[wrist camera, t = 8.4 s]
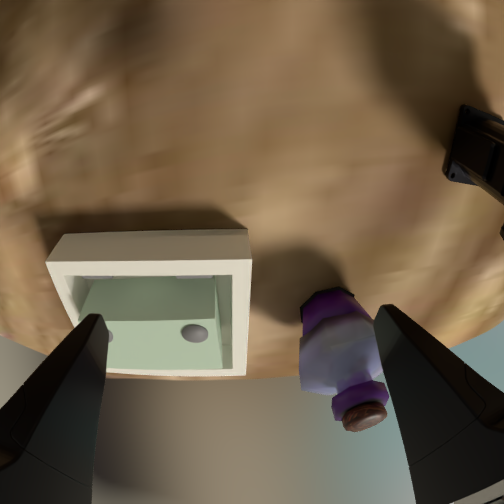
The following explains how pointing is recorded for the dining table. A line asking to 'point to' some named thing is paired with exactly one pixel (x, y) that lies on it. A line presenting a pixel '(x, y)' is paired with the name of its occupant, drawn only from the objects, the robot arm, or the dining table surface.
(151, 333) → the green box with knobs
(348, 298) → the potion bottle
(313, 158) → the dining table surface
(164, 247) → the cabinet carcass
